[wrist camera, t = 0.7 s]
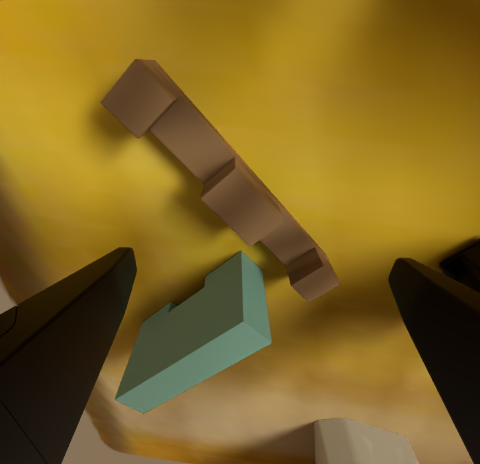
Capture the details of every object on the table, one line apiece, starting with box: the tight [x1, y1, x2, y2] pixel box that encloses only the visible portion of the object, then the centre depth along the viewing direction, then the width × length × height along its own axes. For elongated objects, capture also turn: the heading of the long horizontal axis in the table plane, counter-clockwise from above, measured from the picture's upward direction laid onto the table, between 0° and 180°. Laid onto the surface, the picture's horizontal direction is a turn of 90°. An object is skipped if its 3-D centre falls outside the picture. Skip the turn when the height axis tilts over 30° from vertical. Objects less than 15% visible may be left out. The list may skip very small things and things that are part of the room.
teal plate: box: [115, 251, 272, 414], centre depth 24 cm, size 14×3×8 cm, turn 131°
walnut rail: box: [100, 59, 340, 303], centre depth 20 cm, size 20×3×4 cm, turn 41°
